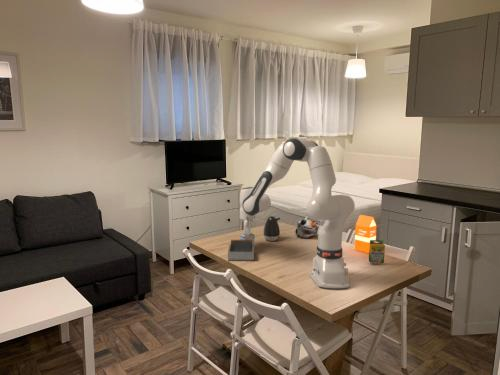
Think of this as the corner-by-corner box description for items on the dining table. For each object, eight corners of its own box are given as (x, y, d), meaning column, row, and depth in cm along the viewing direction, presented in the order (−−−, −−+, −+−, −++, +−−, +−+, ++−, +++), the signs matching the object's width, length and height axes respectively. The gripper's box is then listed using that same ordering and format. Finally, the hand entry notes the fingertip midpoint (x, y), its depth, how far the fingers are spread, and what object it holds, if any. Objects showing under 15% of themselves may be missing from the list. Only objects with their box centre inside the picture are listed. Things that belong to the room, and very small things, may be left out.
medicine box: (249, 246, 224) (249, 232, 222) (254, 248, 220) (254, 234, 219) (239, 249, 218) (239, 235, 217) (244, 251, 215) (244, 236, 214)
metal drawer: (253, 261, 200) (253, 247, 199) (227, 260, 200) (227, 247, 199) (253, 252, 213) (253, 239, 212) (229, 252, 213) (229, 239, 212)
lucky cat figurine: (319, 233, 249) (320, 214, 244) (317, 243, 239) (319, 223, 233) (296, 231, 253) (297, 212, 247) (293, 240, 242) (295, 220, 236)
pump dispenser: (280, 242, 233) (280, 218, 230) (263, 242, 233) (263, 218, 231) (279, 237, 243) (279, 214, 241) (263, 237, 243) (263, 214, 241)
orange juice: (367, 252, 214) (369, 218, 211) (354, 249, 220) (355, 215, 217) (375, 250, 219) (377, 216, 216) (361, 246, 225) (363, 213, 222)
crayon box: (370, 263, 197) (371, 241, 196) (368, 261, 200) (369, 239, 198) (384, 263, 197) (385, 241, 195) (382, 261, 200) (383, 240, 198)
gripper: (252, 219, 206) (252, 244, 208) (253, 211, 226) (252, 233, 228) (241, 219, 206) (241, 244, 208) (242, 211, 226) (242, 233, 228)
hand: (247, 238), depth 218 cm, fingers open, 8 cm apart
